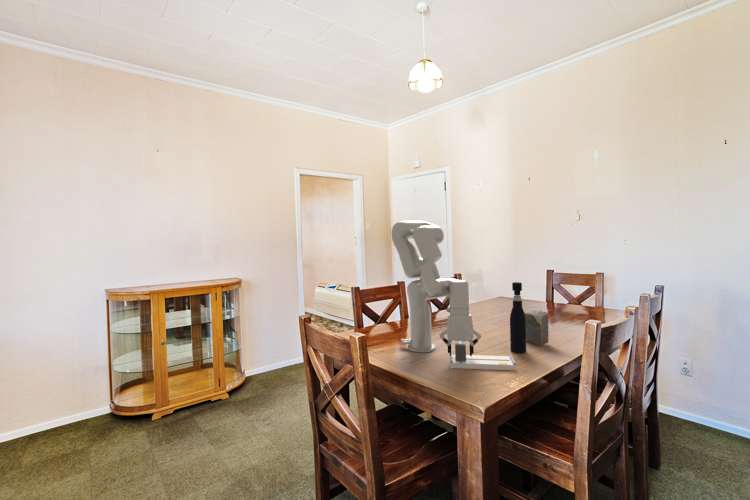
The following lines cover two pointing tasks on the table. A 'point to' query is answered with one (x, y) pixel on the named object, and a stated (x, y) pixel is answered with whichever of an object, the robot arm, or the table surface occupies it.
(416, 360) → the table surface
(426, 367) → the table surface
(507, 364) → the fader panel
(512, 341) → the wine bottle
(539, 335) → the geological specimen
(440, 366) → the table surface
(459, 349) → the fader knob
